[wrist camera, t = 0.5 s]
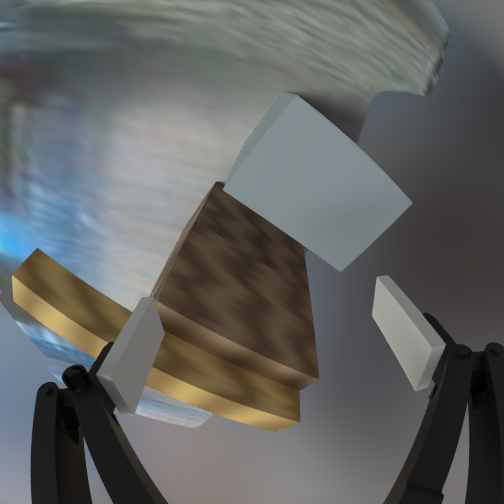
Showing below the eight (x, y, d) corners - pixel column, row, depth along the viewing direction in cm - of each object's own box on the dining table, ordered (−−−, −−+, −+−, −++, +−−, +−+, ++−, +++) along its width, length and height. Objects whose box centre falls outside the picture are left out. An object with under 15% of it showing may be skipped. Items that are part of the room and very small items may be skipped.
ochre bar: (35, 274, 21) (13, 300, 18) (37, 247, 19) (12, 274, 16) (276, 402, 30) (275, 431, 26) (299, 390, 28) (300, 422, 24)
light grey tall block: (244, 142, 40) (222, 190, 23) (285, 91, 35) (297, 95, 18) (315, 194, 44) (340, 272, 27) (355, 149, 39) (412, 203, 22)
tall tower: (186, 224, 49) (124, 350, 26) (216, 181, 44) (156, 300, 21) (267, 275, 54) (260, 409, 31) (302, 240, 49) (319, 379, 26)
